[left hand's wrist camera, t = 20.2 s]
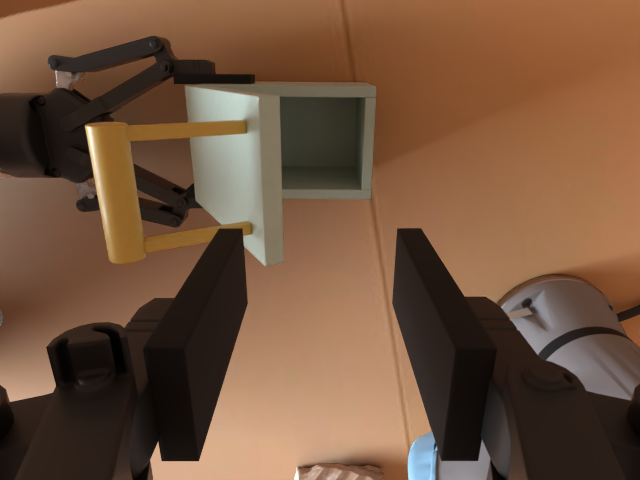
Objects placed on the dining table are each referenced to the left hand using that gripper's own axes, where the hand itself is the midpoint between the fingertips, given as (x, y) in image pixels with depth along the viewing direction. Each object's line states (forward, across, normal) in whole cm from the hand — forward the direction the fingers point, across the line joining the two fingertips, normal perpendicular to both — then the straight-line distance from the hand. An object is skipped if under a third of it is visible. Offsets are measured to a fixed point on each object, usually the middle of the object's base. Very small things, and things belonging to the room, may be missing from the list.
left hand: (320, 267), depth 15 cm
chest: (+34, +3, 0) cm, 35 cm away
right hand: (+28, +6, 0) cm, 29 cm away
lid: (+17, +6, 0) cm, 18 cm away
